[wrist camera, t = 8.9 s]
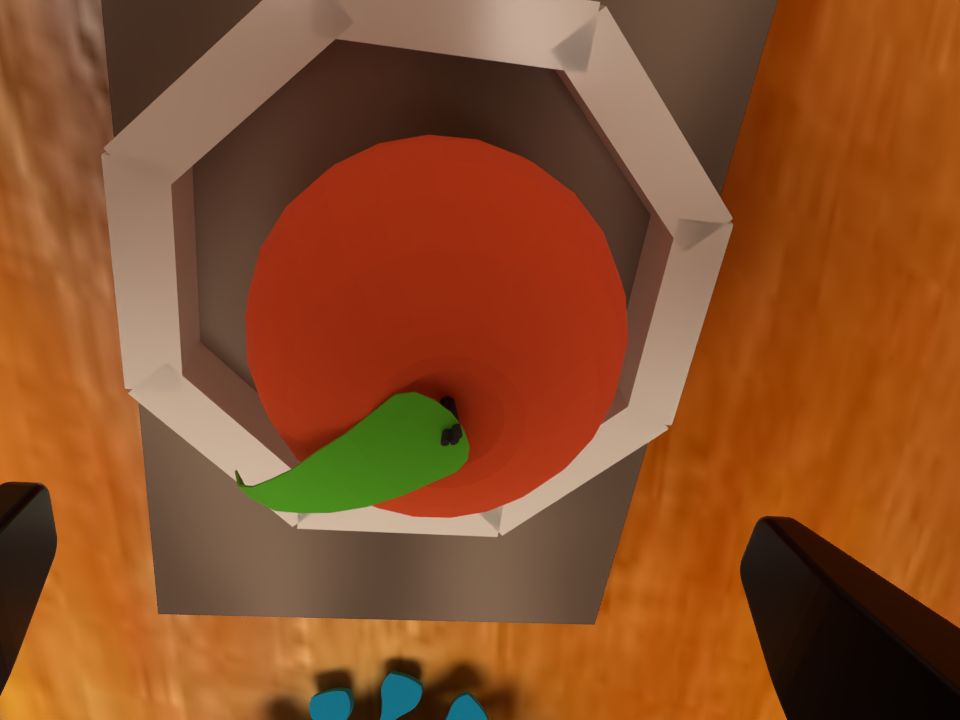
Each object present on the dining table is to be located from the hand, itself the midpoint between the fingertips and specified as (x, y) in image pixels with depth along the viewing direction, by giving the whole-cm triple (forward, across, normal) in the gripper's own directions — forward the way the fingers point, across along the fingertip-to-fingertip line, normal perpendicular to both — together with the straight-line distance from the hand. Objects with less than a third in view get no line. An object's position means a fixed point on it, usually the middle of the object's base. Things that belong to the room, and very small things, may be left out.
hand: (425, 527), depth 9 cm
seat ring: (+10, 0, 0) cm, 10 cm away
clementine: (+9, 0, 0) cm, 9 cm away
